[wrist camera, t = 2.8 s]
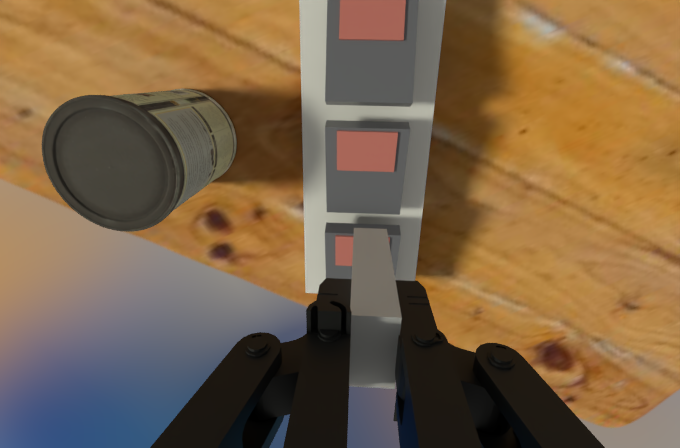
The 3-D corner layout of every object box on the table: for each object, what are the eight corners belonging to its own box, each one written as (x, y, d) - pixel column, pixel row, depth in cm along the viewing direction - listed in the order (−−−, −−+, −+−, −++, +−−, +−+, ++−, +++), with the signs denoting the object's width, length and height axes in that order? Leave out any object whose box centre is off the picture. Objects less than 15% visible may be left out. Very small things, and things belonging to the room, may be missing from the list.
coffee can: (181, 197, 43) (102, 251, 30) (126, 115, 39) (10, 135, 26) (255, 160, 40) (205, 200, 27) (204, 70, 37) (119, 67, 24)
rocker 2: (326, 120, 31) (324, 128, 30) (408, 122, 31) (410, 130, 29) (328, 203, 36) (326, 213, 35) (398, 205, 36) (399, 216, 34)
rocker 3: (326, 222, 35) (324, 234, 33) (399, 225, 35) (401, 236, 33) (327, 285, 40) (326, 297, 38) (391, 287, 40) (392, 300, 38)
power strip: (306, -76, 32) (294, -109, 26) (445, -76, 32) (464, -110, 26) (311, 270, 45) (303, 299, 40) (409, 274, 45) (416, 304, 39)
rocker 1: (329, -4, 29) (327, -15, 28) (416, -3, 29) (419, -14, 27) (326, 104, 31) (324, 100, 29) (409, 106, 30) (413, 102, 29)
